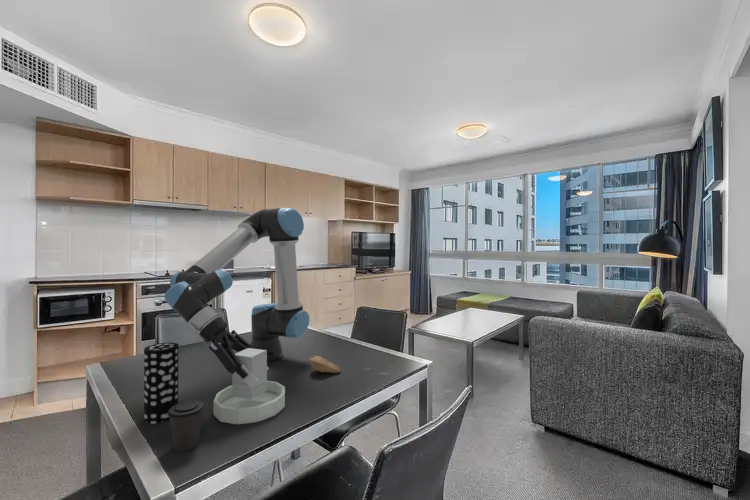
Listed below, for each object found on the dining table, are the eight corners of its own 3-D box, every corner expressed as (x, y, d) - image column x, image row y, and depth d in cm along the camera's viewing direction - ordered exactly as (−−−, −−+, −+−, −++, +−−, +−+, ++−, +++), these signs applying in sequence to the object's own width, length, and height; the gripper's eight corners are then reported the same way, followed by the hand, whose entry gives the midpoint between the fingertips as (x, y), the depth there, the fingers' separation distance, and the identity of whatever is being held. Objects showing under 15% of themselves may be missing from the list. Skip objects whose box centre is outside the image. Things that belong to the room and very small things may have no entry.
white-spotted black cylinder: (154, 409, 100) (154, 342, 100) (183, 408, 101) (183, 342, 101) (137, 424, 92) (137, 351, 92) (169, 423, 93) (169, 351, 93)
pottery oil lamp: (339, 377, 126) (339, 358, 126) (307, 378, 126) (307, 359, 125) (340, 368, 135) (340, 351, 135) (310, 369, 134) (310, 351, 134)
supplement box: (267, 390, 105) (268, 349, 105) (251, 400, 98) (252, 357, 98) (248, 386, 107) (248, 347, 107) (231, 396, 100) (231, 354, 100)
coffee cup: (159, 449, 81) (159, 408, 81) (190, 432, 88) (190, 394, 88) (182, 458, 78) (182, 415, 78) (212, 440, 85) (212, 400, 85)
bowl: (243, 389, 115) (243, 377, 115) (296, 396, 110) (296, 384, 110) (198, 417, 96) (198, 404, 96) (260, 428, 91) (260, 413, 91)
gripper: (216, 325, 113) (263, 372, 113) (179, 343, 92) (237, 402, 92) (232, 309, 113) (279, 357, 113) (199, 324, 92) (257, 383, 92)
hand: (260, 377), depth 103 cm, fingers closed on supplement box, 9 cm apart
